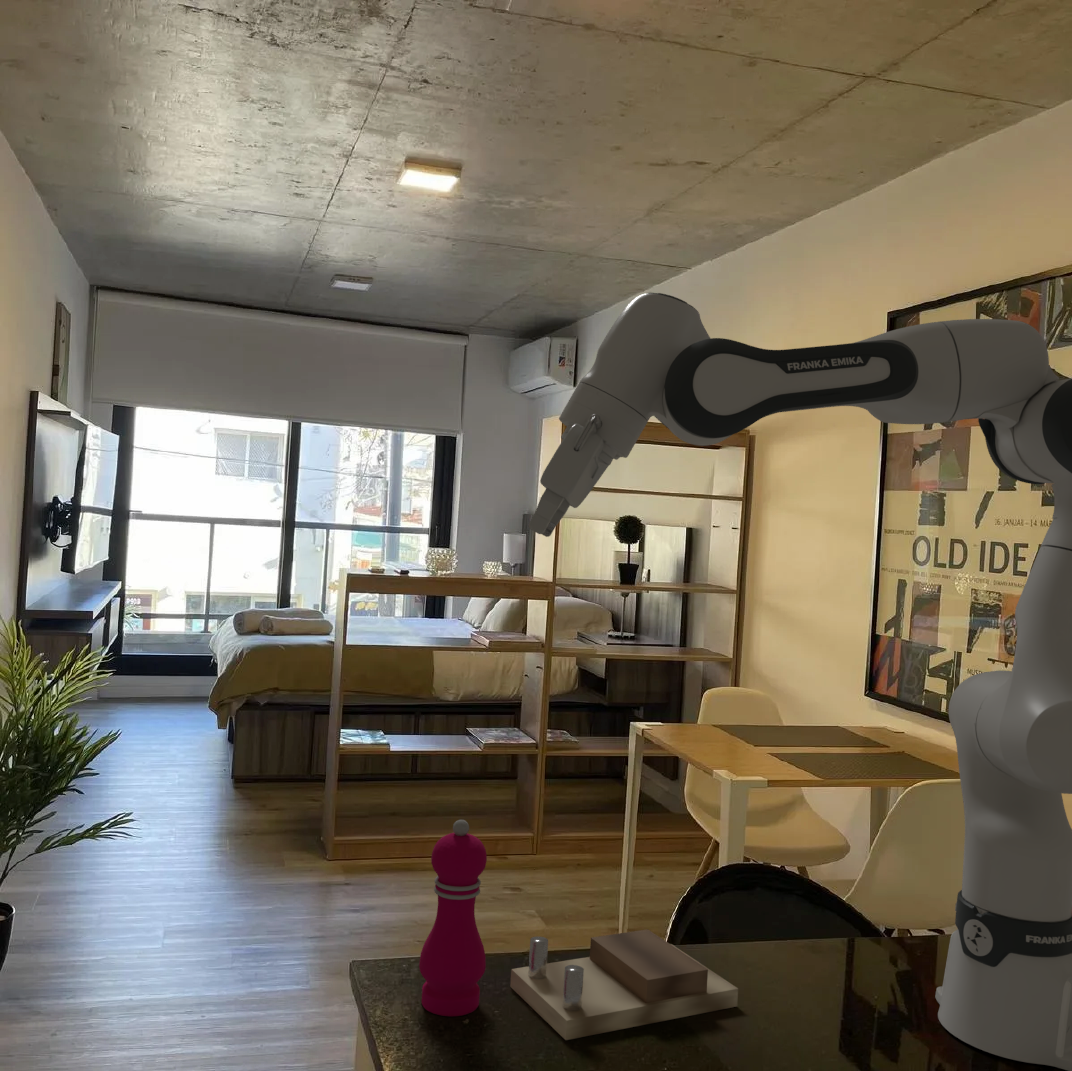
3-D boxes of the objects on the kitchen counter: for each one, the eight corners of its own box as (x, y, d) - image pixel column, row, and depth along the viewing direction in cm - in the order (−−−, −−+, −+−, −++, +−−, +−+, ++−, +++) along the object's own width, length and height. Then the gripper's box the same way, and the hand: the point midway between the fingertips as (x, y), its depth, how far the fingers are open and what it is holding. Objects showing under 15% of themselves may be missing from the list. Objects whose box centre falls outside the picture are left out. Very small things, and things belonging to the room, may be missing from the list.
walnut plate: (646, 949, 124) (647, 929, 124) (706, 991, 113) (708, 969, 113) (589, 958, 120) (590, 937, 120) (646, 1003, 109) (647, 980, 109)
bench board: (670, 960, 126) (673, 911, 126) (737, 1006, 115) (740, 952, 115) (510, 986, 116) (513, 933, 116) (565, 1040, 104) (569, 981, 104)
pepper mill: (473, 1023, 107) (485, 832, 107) (407, 1013, 108) (419, 824, 108) (490, 994, 114) (501, 815, 114) (428, 984, 115) (439, 807, 115)
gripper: (624, 426, 103) (556, 545, 104) (624, 449, 124) (567, 548, 124) (570, 396, 104) (502, 514, 104) (579, 424, 124) (523, 522, 125)
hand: (538, 533), depth 114 cm, fingers open, 8 cm apart
